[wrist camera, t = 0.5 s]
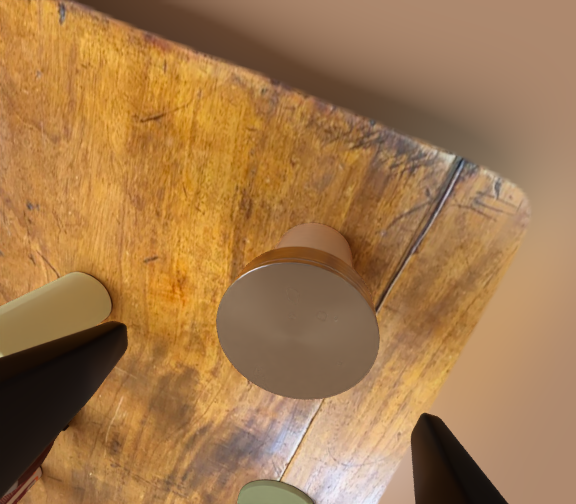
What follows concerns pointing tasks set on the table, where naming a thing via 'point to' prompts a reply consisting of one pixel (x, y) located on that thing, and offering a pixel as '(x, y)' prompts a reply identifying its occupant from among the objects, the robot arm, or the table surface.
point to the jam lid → (299, 323)
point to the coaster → (271, 493)
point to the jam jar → (318, 240)
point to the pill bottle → (21, 489)
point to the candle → (53, 312)
